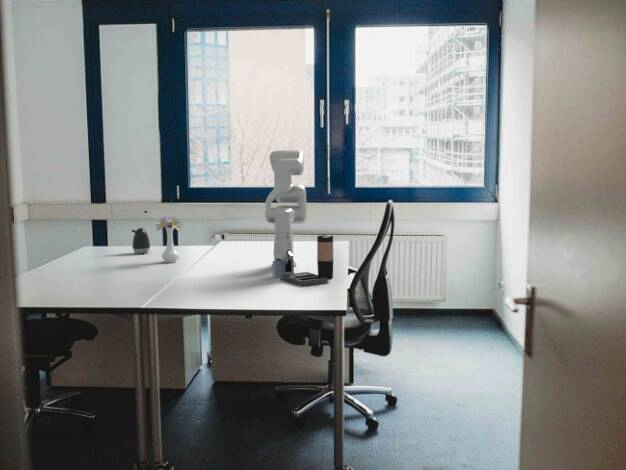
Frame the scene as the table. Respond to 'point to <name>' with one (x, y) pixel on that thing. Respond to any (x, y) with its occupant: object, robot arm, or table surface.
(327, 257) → the travel mug
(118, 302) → the table surface
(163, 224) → the flower vase
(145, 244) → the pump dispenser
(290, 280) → the rack
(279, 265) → the panel
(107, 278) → the table surface
